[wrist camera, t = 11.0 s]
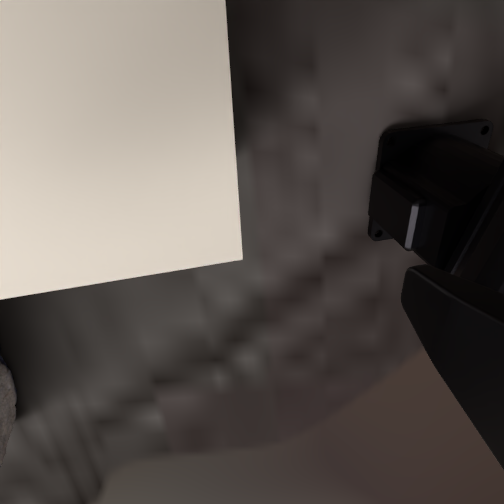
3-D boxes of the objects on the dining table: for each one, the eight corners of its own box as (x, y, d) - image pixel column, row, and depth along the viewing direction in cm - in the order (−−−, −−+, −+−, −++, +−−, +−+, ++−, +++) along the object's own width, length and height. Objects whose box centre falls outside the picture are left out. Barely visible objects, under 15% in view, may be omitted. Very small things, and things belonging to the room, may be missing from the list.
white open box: (182, -81, 15) (215, -142, 8) (209, 174, 20) (242, 259, 14) (-103, -76, 13) (-336, -145, 7) (7, 200, 19) (-64, 310, 12)
